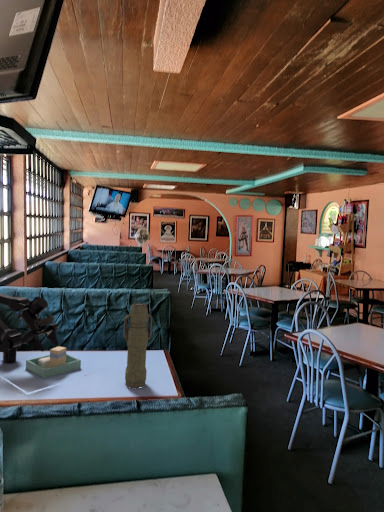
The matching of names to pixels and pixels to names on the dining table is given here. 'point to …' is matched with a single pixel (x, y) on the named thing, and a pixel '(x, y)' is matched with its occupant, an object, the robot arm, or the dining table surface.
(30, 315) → the robot arm
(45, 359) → the beige rectangular block
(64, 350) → the oat carton
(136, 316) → the thermos
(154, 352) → the dining table surface
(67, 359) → the tote
